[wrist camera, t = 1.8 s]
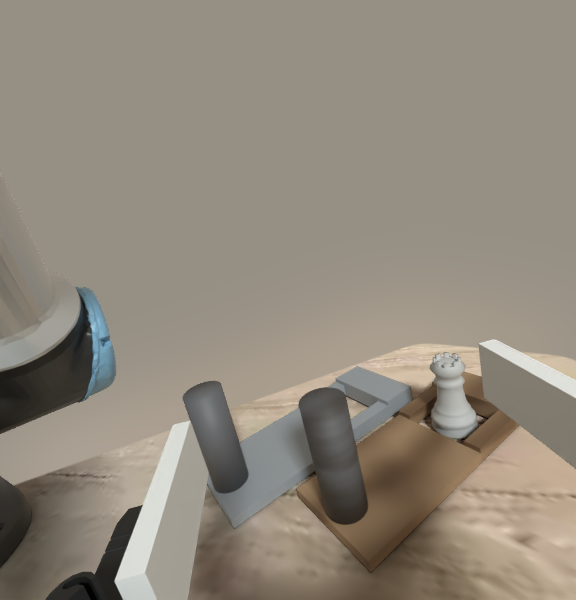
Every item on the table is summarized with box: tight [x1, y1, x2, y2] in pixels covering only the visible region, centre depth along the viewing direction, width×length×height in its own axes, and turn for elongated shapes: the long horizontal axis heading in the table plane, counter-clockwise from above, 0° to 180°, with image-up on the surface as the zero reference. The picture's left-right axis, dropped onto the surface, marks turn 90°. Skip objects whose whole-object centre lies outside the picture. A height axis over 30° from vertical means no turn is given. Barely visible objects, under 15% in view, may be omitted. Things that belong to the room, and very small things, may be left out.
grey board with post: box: [183, 366, 413, 528], centre depth 38 cm, size 9×24×11 cm, turn 123°
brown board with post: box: [297, 372, 519, 572], centre depth 32 cm, size 9×24×11 cm, turn 123°
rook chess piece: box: [430, 352, 478, 440], centre depth 35 cm, size 4×4×8 cm
